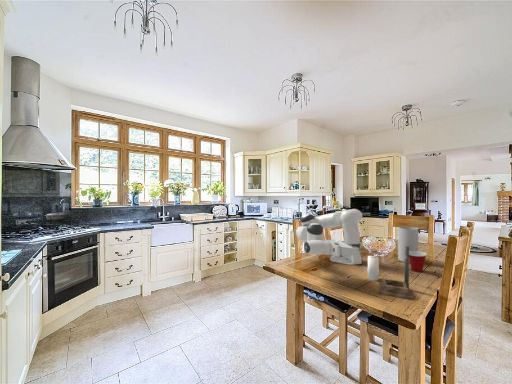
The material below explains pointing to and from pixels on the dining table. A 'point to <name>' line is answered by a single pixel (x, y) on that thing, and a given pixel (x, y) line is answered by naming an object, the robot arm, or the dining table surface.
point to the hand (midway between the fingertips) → (355, 247)
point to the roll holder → (398, 283)
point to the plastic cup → (417, 260)
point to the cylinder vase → (407, 241)
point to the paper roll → (373, 268)
